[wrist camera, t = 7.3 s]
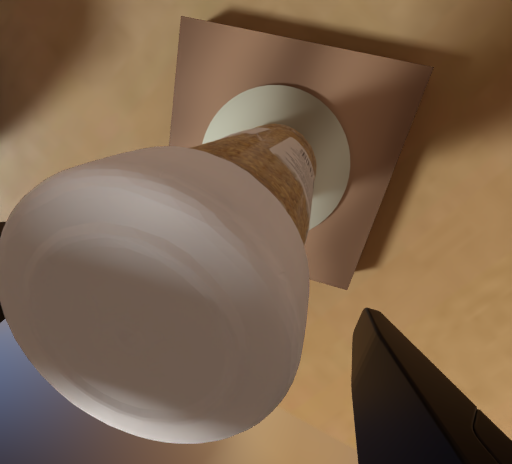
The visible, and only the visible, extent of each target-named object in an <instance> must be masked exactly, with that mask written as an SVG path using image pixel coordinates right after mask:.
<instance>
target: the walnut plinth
mask: <svg viewBox="0 0 512 464" xmlns="http://www.w3.org/2000/svg"><path fill="white" fill-rule="evenodd" d="M433 68H434V67H430V66H425V65H420V64H415V63H411V62H406V61H401V60H396V59H391V58H386V57H381V56H376V55H371V54H366V53H361V52H356V51H352V50H347V49H342V48H337V47H332V46H327V45H322V44H317V43H312V42H307V41H302V40H297V39H292V38H288V37H283V36H278V35H273V34H268V33H263V32H258V31H253V30H248V29H243V28H238V27H233V26H228V25H224V24H219V23H214V22H209V21H204V20H199V19H194V18H189V17H184V16H181V22H180V33H179V44H178V55H177V66H176V76H175V87H174V98H173V109H172V120H171V130H170V141H169V146H176V147H184V148H190V147H195V146H199V145H202V144H205V143H209V142H213V141H215V140H219V139H221V138H223V137H225V136H228V135H231V134H233V133H237V132H241V131H244V130H249V129H253V128H255V127H258V126H262V125H268V124H281V125H286V126H289V127H291V128H293V129H295V130H296V131H297V132H299V133H300V134H302V135H303V136H304V138H305V139H306V140H307V142H308V143H309V144H310V145H311V147H312V150H313V152H314V155H315V158H316V176H315V181H314V189H313V198H312V206H311V215H310V225H309V231H308V235H307V239H306V243H305V245H304V248H305V252H306V256H307V261H308V267H309V279H310V280H314V281H317V282H321V283H324V284H327V285H331V286H334V287H338V288H341V289H345V290H347V289H348V287H349V284H350V282H351V279H352V276H353V274H354V271H355V269H356V266H357V264H358V261H359V258H360V256H361V253H362V251H363V248H364V246H365V243H366V240H367V238H368V235H369V233H370V230H371V228H372V225H373V222H374V220H375V217H376V215H377V212H378V209H379V207H380V204H381V202H382V199H383V197H384V194H385V191H386V189H387V186H388V184H389V181H390V179H391V176H392V173H393V171H394V168H395V166H396V163H397V161H398V158H399V155H400V153H401V150H402V148H403V145H404V142H405V140H406V137H407V135H408V132H409V130H410V127H411V124H412V122H413V119H414V117H415V114H416V112H417V109H418V106H419V104H420V101H421V99H422V96H423V94H424V91H425V88H426V86H427V83H428V81H429V78H430V76H431V73H432V70H433Z"/></svg>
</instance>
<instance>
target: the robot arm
mask: <svg viewBox="0 0 512 464" xmlns="http://www.w3.org/2000/svg"><path fill="white" fill-rule="evenodd" d="M5 223H6V222H0V237H1V233H2V231H3V228H4V226H5ZM4 319H5V316H4V313H3V310H2V307H1V303H0V322H2V321H3V320H4ZM351 387H352V400H353V411H354V422H355V433H356V443H357V454H358V464H512V440H510V439H509V438H508V437H507V436H506V435H505V434H504V433H503V432H502V431H501V430H500V429H499V428H498V427H497V426H496V425H495V424H494V423H493V422H492V421H491V420H490V419H489V418H488V417H487V416H486V415H485V414H484V413H483V412H482V411H481V410H479V409H477V407H476V406H475V405H474V404H473V403H472V402H471V401H470V400H469V399H468V398H467V397H466V396H465V395H464V394H463V393H462V392H461V391H460V390H459V389H458V388H457V387H456V386H455V385H454V384H453V383H452V382H451V381H450V380H449V379H448V378H447V377H446V376H445V375H444V374H443V373H442V372H441V371H440V370H439V369H438V368H437V367H436V366H435V365H434V364H433V363H432V362H431V361H430V360H429V359H428V358H427V357H426V356H425V355H424V354H423V353H422V352H421V351H420V350H419V349H417V348H416V347H415V346H414V345H413V344H412V343H411V342H410V341H409V340H408V339H407V338H406V337H405V336H404V335H403V334H402V333H401V332H400V331H399V330H398V329H397V328H396V327H395V326H394V325H393V324H392V323H391V322H390V321H389V320H388V319H387V318H386V317H385V316H384V315H383V314H382V313H381V312H379V311H377V310H374V309H370V308H365V309H364V310H363V311H362V313H361V316H360V318H359V320H358V323H357V325H356V327H355V329H354V333H353V342H352V377H351Z"/></svg>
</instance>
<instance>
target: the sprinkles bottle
mask: <svg viewBox="0 0 512 464" xmlns="http://www.w3.org/2000/svg"><path fill="white" fill-rule="evenodd" d="M315 176H316V158H315V155H314V152H313V150H312V147H311V145H310V144H309V143H308V142H307V140H306V139H305V138H304V136H303V135H302V134H300V133H299V132H297V131H296V130H295V129H293V128H291V127H289V126H286V125H281V124H268V125H262V126H258V127H255V128H253V129H249V130H244V131H241V132H237V133H233V134H231V135H228V136H225V137H223V138H221V139H219V140H215V141H213V142H209V143H205V144H202V145H199V146H195V147H190V148H184V147H176V146H161V147H150V148H144V149H139V150H135V151H130V152H126V153H121V154H117V155H113V156H110V157H106V158H103V159H99V160H95V161H92V162H88V163H85V164H82V165H79V166H76V167H72V168H69V169H66V170H63V171H61V172H59V173H57V174H55V175H53V176H51V177H49V178H47V179H45V180H44V181H43V182H41V183H40V184H38V185H37V186H36V187H35V188H33V189H32V190H31V191H30V192H29V193H27V194H26V195H25V196H24V197H23V198H22V199H21V200H20V202H19V203H18V204H17V205H16V207H15V208H14V209H13V211H12V212H11V214H10V216H9V218H8V219H7V221H6V223H5V226H4V228H3V231H2V233H1V237H0V303H1V307H2V310H3V313H4V316H5V319H6V321H7V323H8V325H9V327H10V329H11V331H12V333H13V336H14V338H15V339H16V341H17V343H18V344H19V345H20V347H21V349H22V350H23V352H24V353H25V355H26V356H27V358H28V359H29V360H30V362H31V363H32V364H33V365H34V367H35V368H36V369H37V370H38V372H39V373H40V374H41V375H42V376H43V377H44V378H45V379H46V380H47V381H48V382H49V383H50V384H51V385H52V386H53V387H54V388H55V389H56V390H57V391H58V392H59V393H60V394H62V395H63V396H64V397H65V398H66V399H68V400H69V401H70V402H72V403H73V404H74V405H75V406H77V407H78V408H80V409H82V410H83V411H85V412H86V413H88V414H89V415H91V416H93V417H95V418H97V419H99V420H100V421H102V422H104V423H106V424H108V425H110V426H112V427H115V428H117V429H119V430H122V431H125V432H127V433H130V434H133V435H136V436H139V437H143V438H147V439H150V440H155V441H162V442H167V443H180V444H186V443H188V444H192V443H194V444H195V443H196V444H197V443H205V442H211V441H218V440H222V439H226V438H229V437H231V436H234V435H236V434H239V433H241V432H244V431H246V430H248V429H250V428H252V427H253V426H255V425H257V424H258V423H260V422H261V421H262V420H263V419H264V418H265V417H267V416H268V415H269V414H270V413H271V412H272V411H273V410H274V409H275V408H276V407H277V406H278V404H279V403H280V402H281V401H282V399H283V398H284V397H285V395H286V394H287V392H288V390H289V388H290V386H291V384H292V383H293V380H294V377H295V375H296V372H297V369H298V366H299V363H300V358H301V353H302V347H303V341H304V334H305V327H306V319H307V309H308V298H309V267H308V261H307V256H306V252H305V248H304V245H305V243H306V239H307V235H308V231H309V225H310V215H311V206H312V198H313V189H314V181H315Z"/></svg>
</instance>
